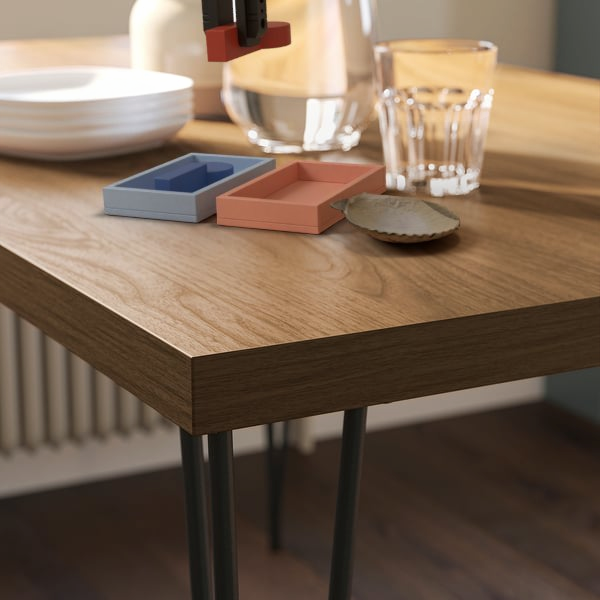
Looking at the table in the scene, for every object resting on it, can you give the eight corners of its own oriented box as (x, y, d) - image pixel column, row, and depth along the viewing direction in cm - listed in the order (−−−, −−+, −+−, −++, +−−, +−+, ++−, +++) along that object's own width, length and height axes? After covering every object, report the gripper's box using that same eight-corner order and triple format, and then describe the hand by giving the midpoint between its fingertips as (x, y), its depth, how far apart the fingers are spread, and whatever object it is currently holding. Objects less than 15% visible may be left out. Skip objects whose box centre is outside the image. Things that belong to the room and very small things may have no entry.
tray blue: (192, 176, 97) (191, 152, 97) (276, 182, 94) (275, 158, 94) (104, 214, 86) (102, 187, 85) (196, 223, 83) (195, 195, 82)
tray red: (294, 184, 94) (294, 159, 93) (386, 191, 90) (386, 165, 90) (217, 224, 82) (215, 197, 81) (318, 234, 79) (317, 205, 78)
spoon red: (243, 62, 75) (241, 30, 74) (191, 61, 76) (188, 30, 76) (300, 41, 82) (298, 12, 82) (251, 41, 84) (249, 12, 83)
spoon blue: (186, 207, 85) (185, 180, 84) (141, 203, 87) (139, 176, 86) (242, 180, 93) (241, 155, 92) (200, 177, 94) (199, 153, 94)
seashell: (407, 287, 73) (484, 232, 78) (406, 246, 72) (485, 192, 76) (311, 243, 78) (388, 194, 83) (308, 204, 76) (387, 156, 81)
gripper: (345, -246, 73) (352, 39, 78) (154, -228, 78) (174, 38, 84) (296, -258, 66) (308, 54, 72) (91, -237, 72) (117, 52, 77)
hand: (235, 44), depth 78 cm, fingers closed on spoon red, 1 cm apart
